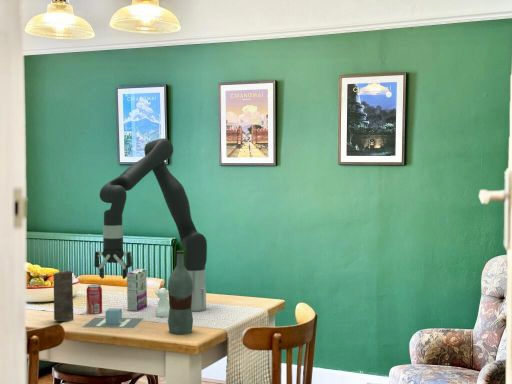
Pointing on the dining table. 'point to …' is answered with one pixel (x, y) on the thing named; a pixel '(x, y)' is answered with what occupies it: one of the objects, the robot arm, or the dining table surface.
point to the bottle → (180, 298)
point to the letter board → (123, 324)
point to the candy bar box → (136, 290)
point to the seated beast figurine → (162, 303)
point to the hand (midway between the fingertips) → (113, 278)
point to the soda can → (94, 299)
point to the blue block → (113, 315)
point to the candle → (63, 296)
